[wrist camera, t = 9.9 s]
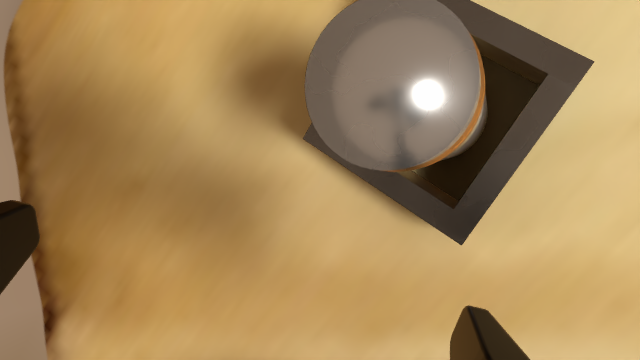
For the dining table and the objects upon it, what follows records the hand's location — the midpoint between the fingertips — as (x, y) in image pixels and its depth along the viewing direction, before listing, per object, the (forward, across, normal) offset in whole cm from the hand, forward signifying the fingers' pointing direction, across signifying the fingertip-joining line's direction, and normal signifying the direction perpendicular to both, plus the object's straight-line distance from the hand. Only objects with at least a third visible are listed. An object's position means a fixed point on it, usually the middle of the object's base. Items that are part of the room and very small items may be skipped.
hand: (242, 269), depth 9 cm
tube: (+16, -6, +1) cm, 17 cm away
